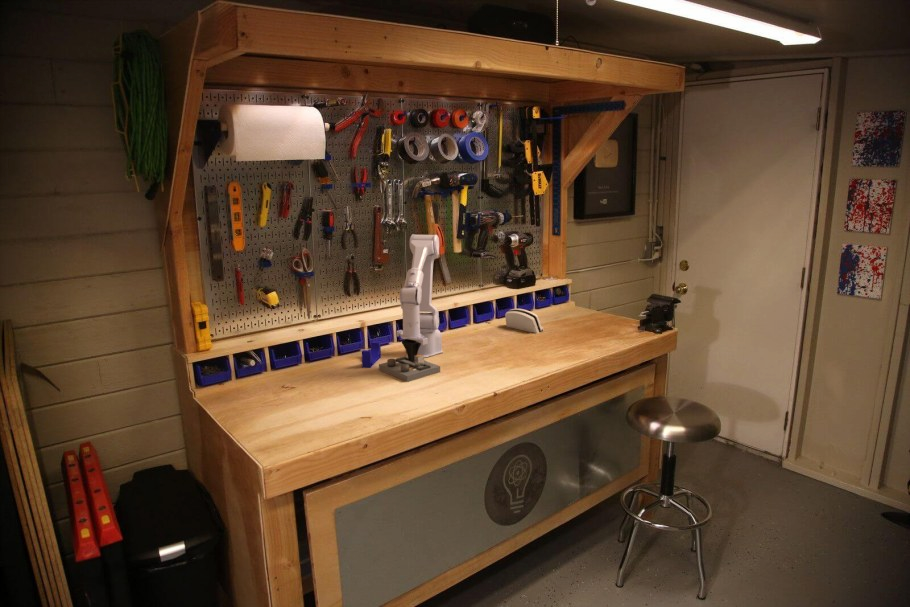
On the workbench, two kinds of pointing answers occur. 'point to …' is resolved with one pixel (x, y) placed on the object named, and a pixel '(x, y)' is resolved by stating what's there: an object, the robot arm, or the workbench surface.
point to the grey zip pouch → (523, 320)
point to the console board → (411, 373)
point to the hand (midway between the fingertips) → (412, 360)
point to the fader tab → (419, 360)
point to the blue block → (371, 355)
